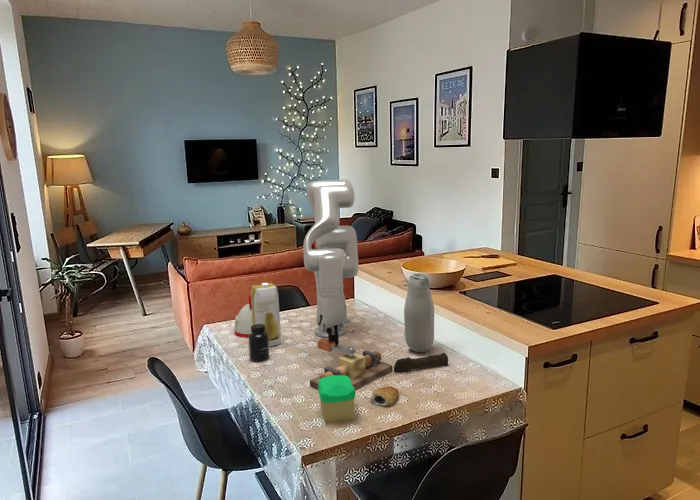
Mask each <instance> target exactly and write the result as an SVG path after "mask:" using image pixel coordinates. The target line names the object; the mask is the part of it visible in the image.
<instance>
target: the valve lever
mask: <svg viewBox="0 0 700 500" xmlns="http://www.w3.org/2000/svg"><path fill="white" fill-rule="evenodd" d="M317 349H319V350H322V351H325V352H328V353H329V352H330V353H331V352H333V351H334V352H338V353H342V354H344V355H346V354H348V355H349V357H354V353H356V347H355V346H348V347H346V346H342V345H336V344H335V341H331V340H328V338H325V337H322V338H320V339H319V340H318V341H317Z"/></svg>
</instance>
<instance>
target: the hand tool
mask: <svg viewBox="0 0 700 500" xmlns="http://www.w3.org/2000/svg"><path fill="white" fill-rule="evenodd" d="M441 365H443V366H446V367H447V366H448V365H449V356H448V355H447V354H446V353H445V352H441V353H440V354H434V355H427V356H422V357H417V358H411V357H410V356H409V357H402V358H398V359H397V360H396V361H395V364H394V366H393V373H396V374H402V373H403V374H404V373H412V371H414V370H418V369H419V370H420V369H424V368H431V367H437V366H441Z"/></svg>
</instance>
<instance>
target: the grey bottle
mask: <svg viewBox="0 0 700 500" xmlns="http://www.w3.org/2000/svg"><path fill="white" fill-rule="evenodd" d="M432 297H433V296H432V294H431V289H430V280H429V278H428V276H426V275H425V274H422V273H413V274H411V275H410V276H409V278H408V281H407V292H406V297H405V301H404V307H403V308H404V309H403V315H404V316H403V318H404V340H405V343H406V345H407V346H408V348H409V349H410V350H412V351H413V352H416V353H425V352H427V351H429V350H430V349H431V348H432V347H433V344H434V340H435V304H434V302H433V301H434V300H433V298H432Z"/></svg>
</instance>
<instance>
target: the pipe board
mask: <svg viewBox="0 0 700 500" xmlns="http://www.w3.org/2000/svg"><path fill="white" fill-rule="evenodd" d="M337 360H338V361H337V362H338V364H337V365H338V367H337V366H336V367H335V368H333V367H331V366H326V367H324V368H323V369H324V373H321V375H319V376H317V377H314V378H312V379H309V387H310V388H312V389H315V390H316V391H318V383H319V380H320V379H321V378H324V377H328V376H334V375H344V376H348V377H349V378H350V380H351V383H352V385H353V387H354V389H355V391H356V390H357V389H359V388H361V387H364V386H366V385H367V384H370V383H372V382H373V381H375V380H378V379H379V378H383V376H386V375H388V374H390V373H392V372H393V365H392V364H389V363H387V362H383V361H381V360H382V353H381V352H380V351H378V350H374V351H370V350H367V349H365V350H363V351H362V355H361V354H359V353H356V352H355V353H354V357H349V355H348V354H344V355H341V356H338V358H337Z"/></svg>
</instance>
